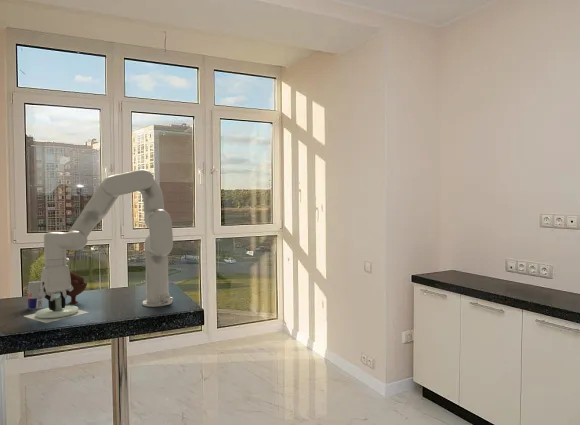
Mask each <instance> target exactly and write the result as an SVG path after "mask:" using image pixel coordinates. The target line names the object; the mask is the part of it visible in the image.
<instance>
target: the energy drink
mask: <svg viewBox="0 0 580 425" xmlns="http://www.w3.org/2000/svg"><path fill="white" fill-rule="evenodd" d="M40 285H41V280H32V281H31V280H30V281H28V282H27V308H28V310H38V309H39V310H40V309H43V307H44V297H42V296H39V293H40V291H41V288H40Z"/></svg>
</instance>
